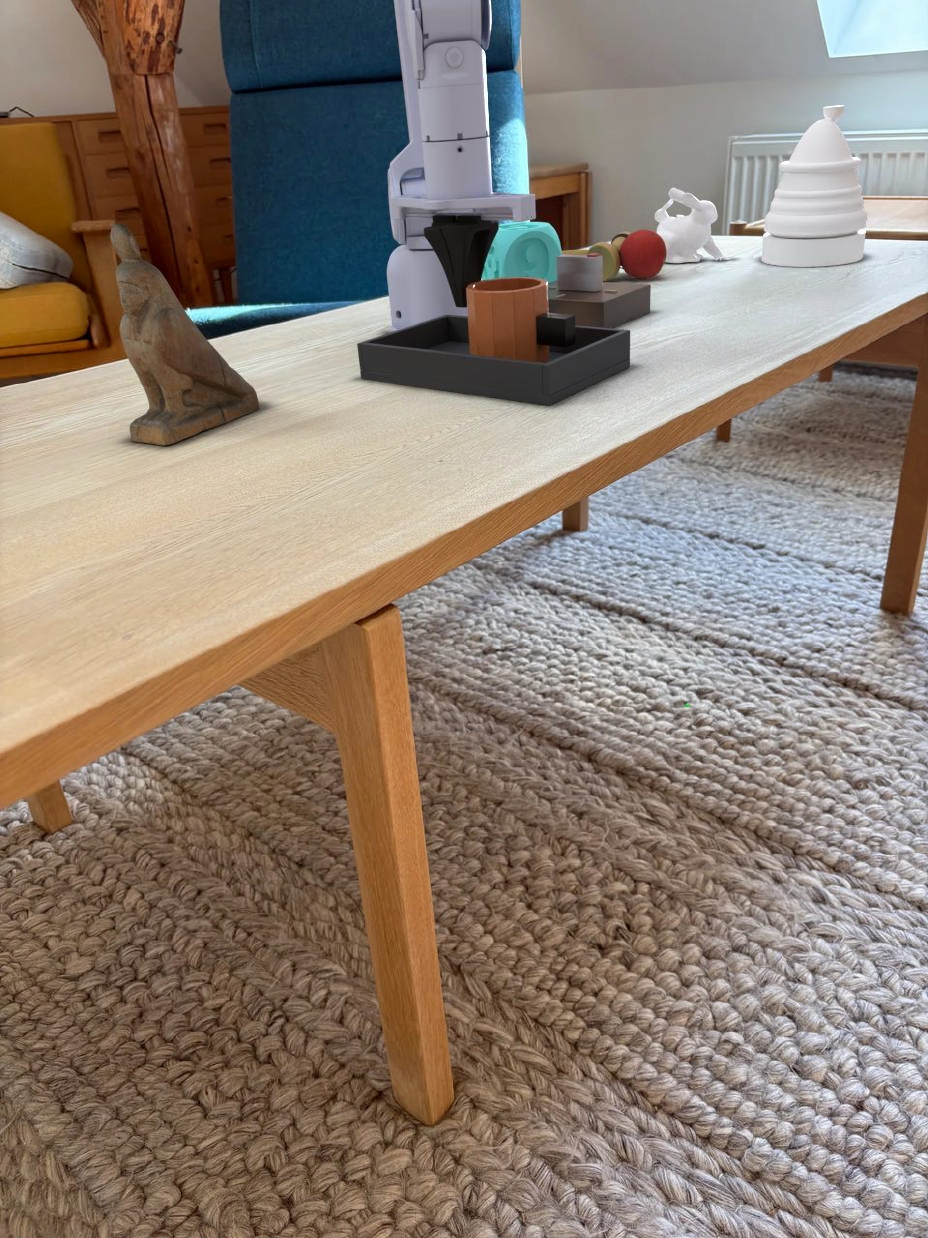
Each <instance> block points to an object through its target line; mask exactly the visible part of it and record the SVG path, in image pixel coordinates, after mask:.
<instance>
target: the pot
mask: <svg viewBox="0 0 928 1238" xmlns="http://www.w3.org/2000/svg"><path fill="white" fill-rule="evenodd" d="M466 296H467V312H468V328H469V345H470V354H471V355H480V356H489V357H498V358H507V359H516V360H525V361H533V362H542V363H548V362H549V346H556V347H565V348H566V347H568V346H570V345H573V344H575V343H576V339H575V315H567V314H556V313H549V312H548V281H546V280H543V279H540V278H532V277H505V278H495V279H488V280H482V279H481V281H478V282H475V283H471V284H469V285H468V286H467V288H466Z"/></svg>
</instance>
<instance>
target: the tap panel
mask: <svg viewBox="0 0 928 1238" xmlns="http://www.w3.org/2000/svg"><path fill="white" fill-rule="evenodd" d="M651 289H652V285H651V284H650V283H632V282H631V283H630V282H614V281H613V282H611V281H603V289H602V290H600V291H597V292H590V291H574V290H558V289H557V280H556V281H553V282H550V283H548V312H549V313H556V314H567V315H575V325H576V326H588V327H600V328H612V329H614V328H615V327H619V326H621V325H623V324H625V323H628V322H631V321H632V320H635V319H637V318H640V317H642V316H645V315H647V314H649V313H651V293H652V292H651V291H652V290H651Z"/></svg>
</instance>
